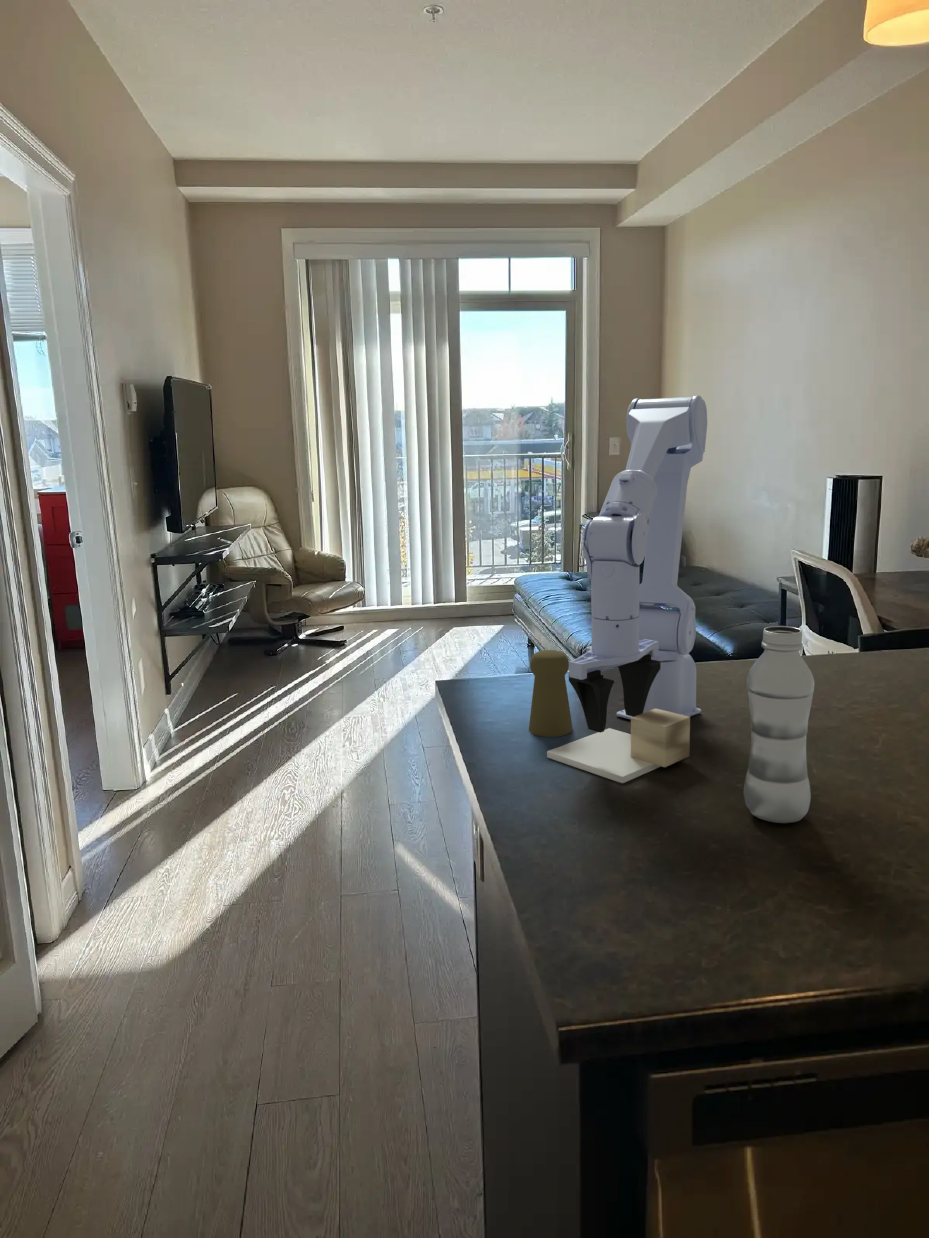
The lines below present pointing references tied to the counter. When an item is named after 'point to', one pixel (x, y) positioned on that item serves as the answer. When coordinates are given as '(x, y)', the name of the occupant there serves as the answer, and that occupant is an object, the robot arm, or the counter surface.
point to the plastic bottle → (779, 728)
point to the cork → (550, 695)
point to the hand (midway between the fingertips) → (615, 723)
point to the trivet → (603, 756)
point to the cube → (660, 737)
